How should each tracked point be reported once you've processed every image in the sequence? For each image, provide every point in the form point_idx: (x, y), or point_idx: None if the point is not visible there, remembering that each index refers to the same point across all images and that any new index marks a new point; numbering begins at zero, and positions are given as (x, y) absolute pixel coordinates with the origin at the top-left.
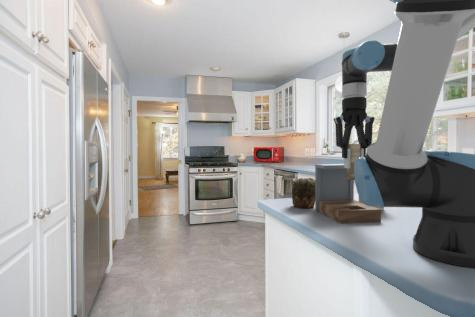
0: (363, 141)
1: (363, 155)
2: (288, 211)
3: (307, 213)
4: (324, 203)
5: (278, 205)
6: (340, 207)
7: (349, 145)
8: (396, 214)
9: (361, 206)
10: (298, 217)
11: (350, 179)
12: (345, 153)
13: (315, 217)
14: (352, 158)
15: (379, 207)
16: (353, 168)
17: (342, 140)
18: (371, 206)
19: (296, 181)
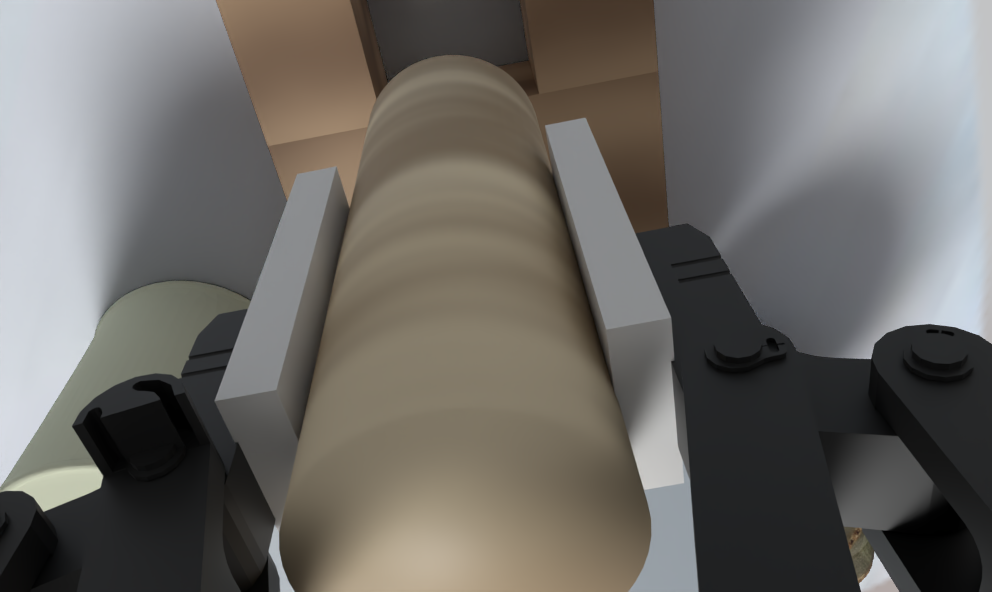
0: (160, 579)
1: (257, 296)
2: (901, 245)
3: (772, 187)
4: (664, 203)
5: None
6: (578, 29)
7: (624, 445)
8: (24, 183)
9: (355, 80)
10: (903, 51)
11: (517, 83)
12: (694, 282)
13: (757, 56)
14: (523, 209)
15: (134, 304)
16: (491, 122)
17: (980, 473)
18: (256, 82)
19: (868, 551)
